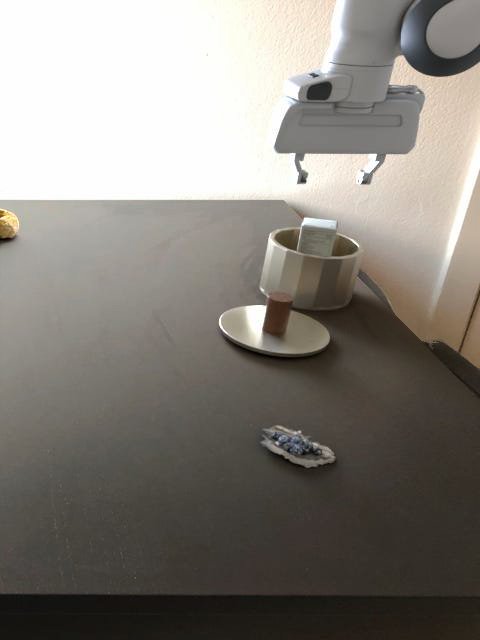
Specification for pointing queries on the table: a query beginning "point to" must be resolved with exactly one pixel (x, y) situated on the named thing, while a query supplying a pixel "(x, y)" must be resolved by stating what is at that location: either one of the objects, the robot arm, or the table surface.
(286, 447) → the blueberries
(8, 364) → the table surface
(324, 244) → the box
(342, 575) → the table surface
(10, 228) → the bagel
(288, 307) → the lid
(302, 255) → the pot
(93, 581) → the table surface
